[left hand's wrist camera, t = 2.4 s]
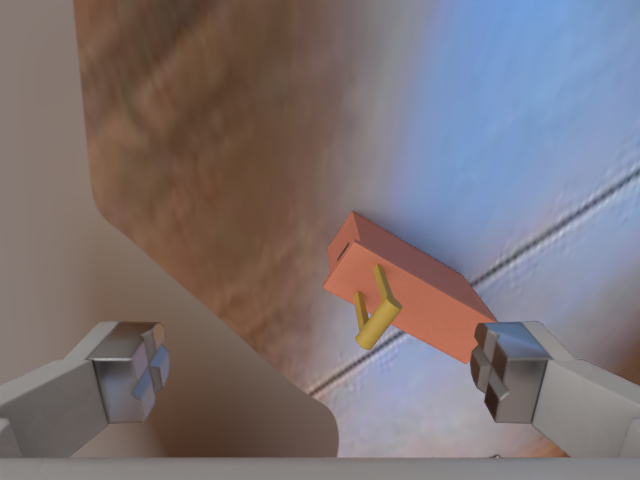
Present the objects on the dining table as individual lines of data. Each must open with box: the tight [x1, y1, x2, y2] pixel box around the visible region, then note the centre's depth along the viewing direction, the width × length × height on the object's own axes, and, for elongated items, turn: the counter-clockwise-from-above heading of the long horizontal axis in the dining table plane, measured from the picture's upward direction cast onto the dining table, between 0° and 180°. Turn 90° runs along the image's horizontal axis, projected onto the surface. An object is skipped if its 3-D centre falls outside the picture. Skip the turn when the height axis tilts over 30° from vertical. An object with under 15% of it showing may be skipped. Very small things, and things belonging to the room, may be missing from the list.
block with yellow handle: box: [323, 239, 498, 364], centre depth 34 cm, size 17×5×8 cm, turn 59°
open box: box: [328, 211, 497, 320], centre depth 42 cm, size 16×5×10 cm, turn 59°
